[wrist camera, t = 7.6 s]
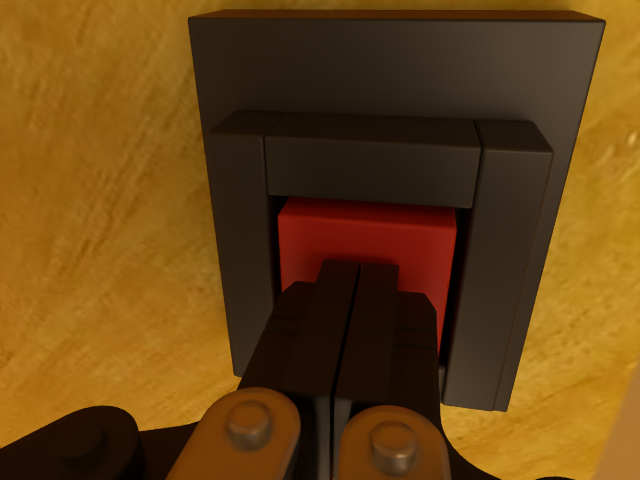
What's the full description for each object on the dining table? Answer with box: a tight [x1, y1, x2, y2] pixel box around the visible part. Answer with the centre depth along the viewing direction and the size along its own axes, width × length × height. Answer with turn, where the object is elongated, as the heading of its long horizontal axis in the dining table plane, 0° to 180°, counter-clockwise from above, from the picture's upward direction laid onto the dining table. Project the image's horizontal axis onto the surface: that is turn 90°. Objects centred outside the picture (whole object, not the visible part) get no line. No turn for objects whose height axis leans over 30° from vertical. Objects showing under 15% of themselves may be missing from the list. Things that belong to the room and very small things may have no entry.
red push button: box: [188, 9, 606, 412], centre depth 12 cm, size 10×8×4 cm
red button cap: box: [278, 196, 457, 357], centre depth 11 cm, size 3×3×2 cm
